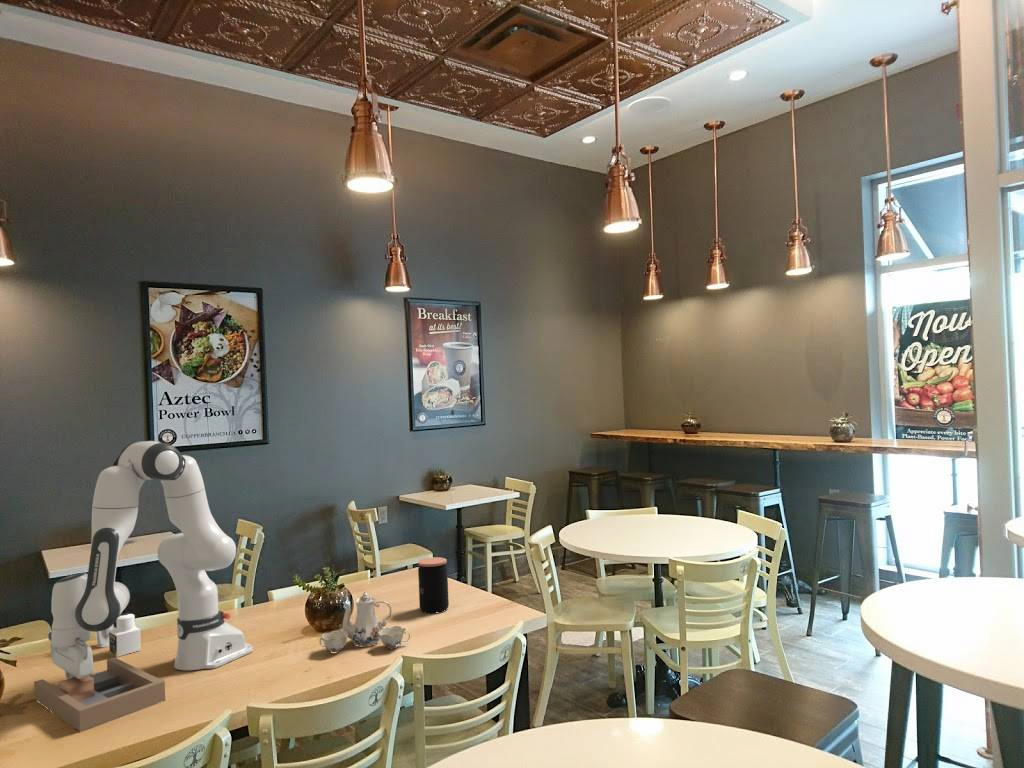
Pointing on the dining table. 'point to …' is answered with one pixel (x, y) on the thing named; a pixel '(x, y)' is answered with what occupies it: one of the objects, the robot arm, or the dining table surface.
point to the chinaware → (364, 628)
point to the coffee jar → (433, 584)
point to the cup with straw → (103, 637)
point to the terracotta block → (78, 687)
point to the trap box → (104, 696)
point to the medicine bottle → (124, 636)
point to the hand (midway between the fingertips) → (72, 686)
